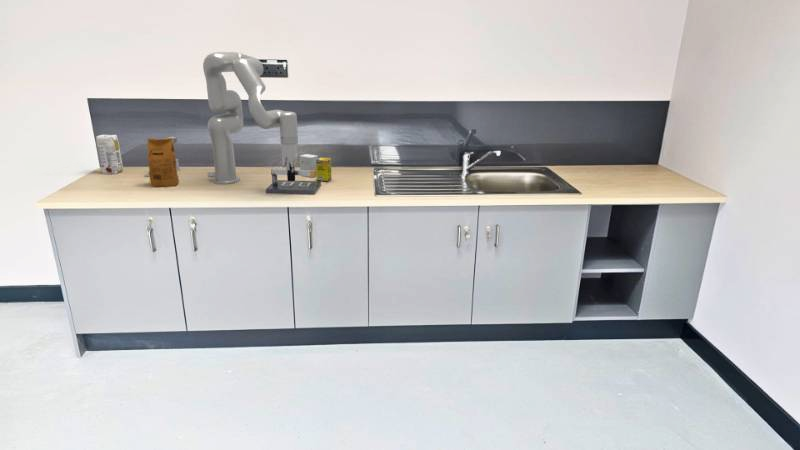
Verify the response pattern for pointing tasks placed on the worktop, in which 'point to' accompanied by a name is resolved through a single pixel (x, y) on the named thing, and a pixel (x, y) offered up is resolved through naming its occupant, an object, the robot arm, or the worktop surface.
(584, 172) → the worktop surface
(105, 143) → the white flour bag
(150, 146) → the coffee package
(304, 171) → the cable arm
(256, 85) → the robot arm
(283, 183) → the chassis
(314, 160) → the small box
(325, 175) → the supplement box
